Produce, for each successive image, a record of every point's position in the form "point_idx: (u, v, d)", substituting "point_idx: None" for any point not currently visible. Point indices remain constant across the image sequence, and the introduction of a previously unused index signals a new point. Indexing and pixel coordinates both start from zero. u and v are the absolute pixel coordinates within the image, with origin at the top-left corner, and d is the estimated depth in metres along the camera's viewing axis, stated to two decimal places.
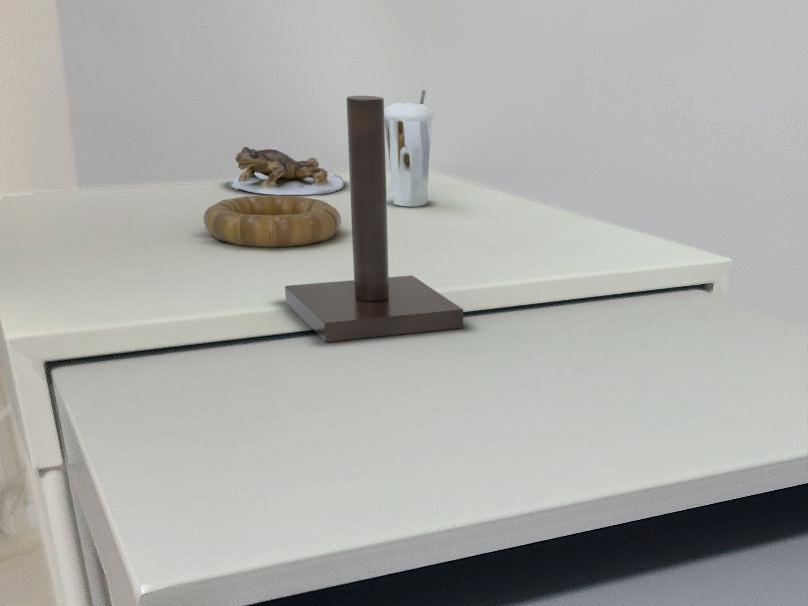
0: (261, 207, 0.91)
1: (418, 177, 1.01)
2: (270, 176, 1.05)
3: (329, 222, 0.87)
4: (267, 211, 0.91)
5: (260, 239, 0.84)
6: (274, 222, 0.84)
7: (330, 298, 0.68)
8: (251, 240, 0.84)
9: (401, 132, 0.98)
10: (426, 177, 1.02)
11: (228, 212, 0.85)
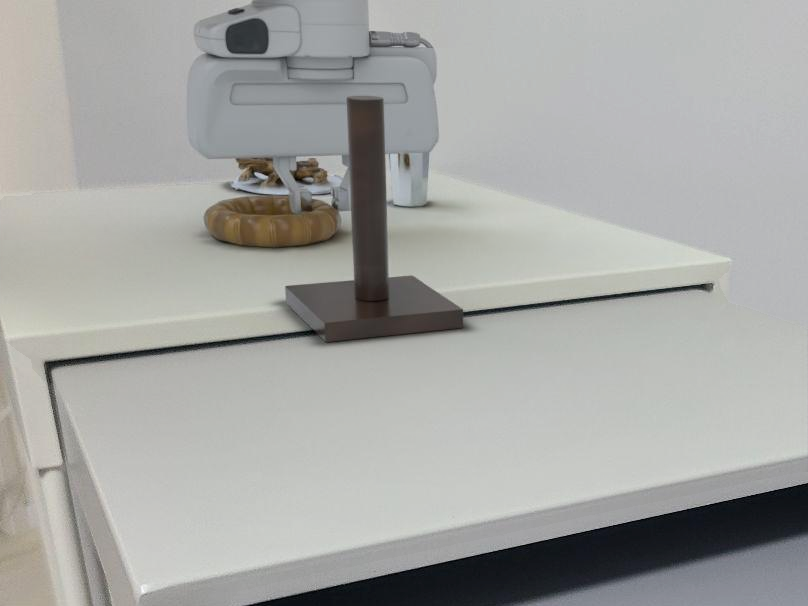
0: (261, 207, 0.91)
1: (418, 177, 1.01)
2: (270, 176, 1.05)
3: (329, 222, 0.87)
4: (267, 211, 0.91)
5: (260, 239, 0.84)
6: (274, 222, 0.84)
7: (330, 298, 0.68)
8: (251, 240, 0.84)
9: None
10: (426, 177, 1.02)
11: (228, 212, 0.85)
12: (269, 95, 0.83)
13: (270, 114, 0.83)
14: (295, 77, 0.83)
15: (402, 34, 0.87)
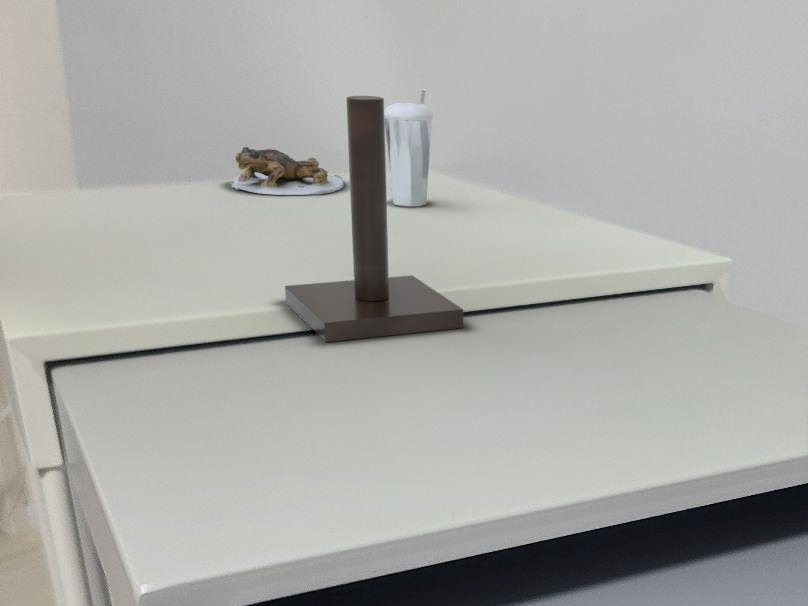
0: None
1: (418, 177, 1.01)
2: (270, 176, 1.05)
3: None
4: None
5: None
6: None
7: (330, 298, 0.68)
8: None
9: (401, 132, 0.98)
10: (426, 177, 1.02)
11: None
12: None
13: None
14: None
15: None
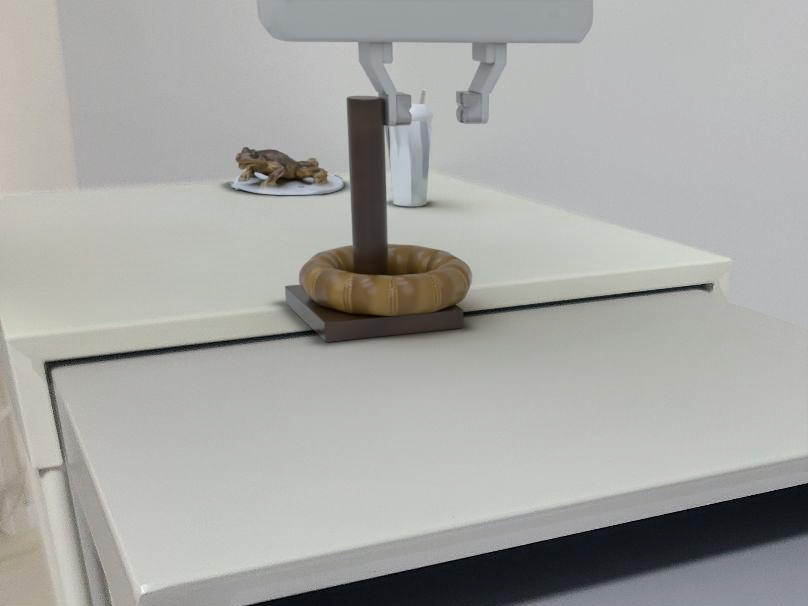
0: None
1: (418, 177, 1.01)
2: (270, 176, 1.05)
3: (463, 282, 0.67)
4: None
5: (377, 307, 0.64)
6: (396, 285, 0.64)
7: None
8: (365, 308, 0.65)
9: (401, 132, 0.98)
10: (426, 177, 1.02)
11: (334, 271, 0.65)
12: None
13: None
14: None
15: None
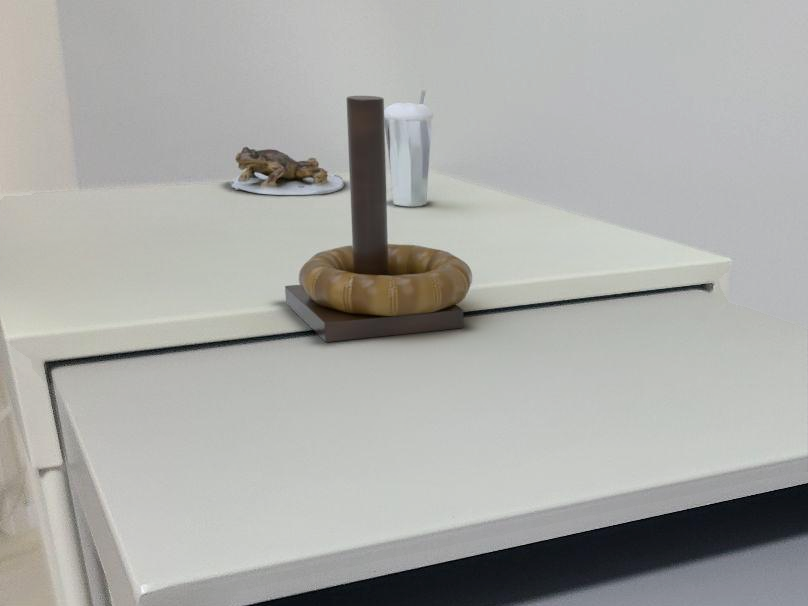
0: None
1: (418, 177, 1.01)
2: (270, 176, 1.05)
3: (463, 282, 0.67)
4: None
5: (377, 307, 0.64)
6: (396, 285, 0.64)
7: None
8: (365, 308, 0.65)
9: (401, 132, 0.98)
10: (426, 177, 1.02)
11: (334, 271, 0.65)
12: None
13: None
14: None
15: None
